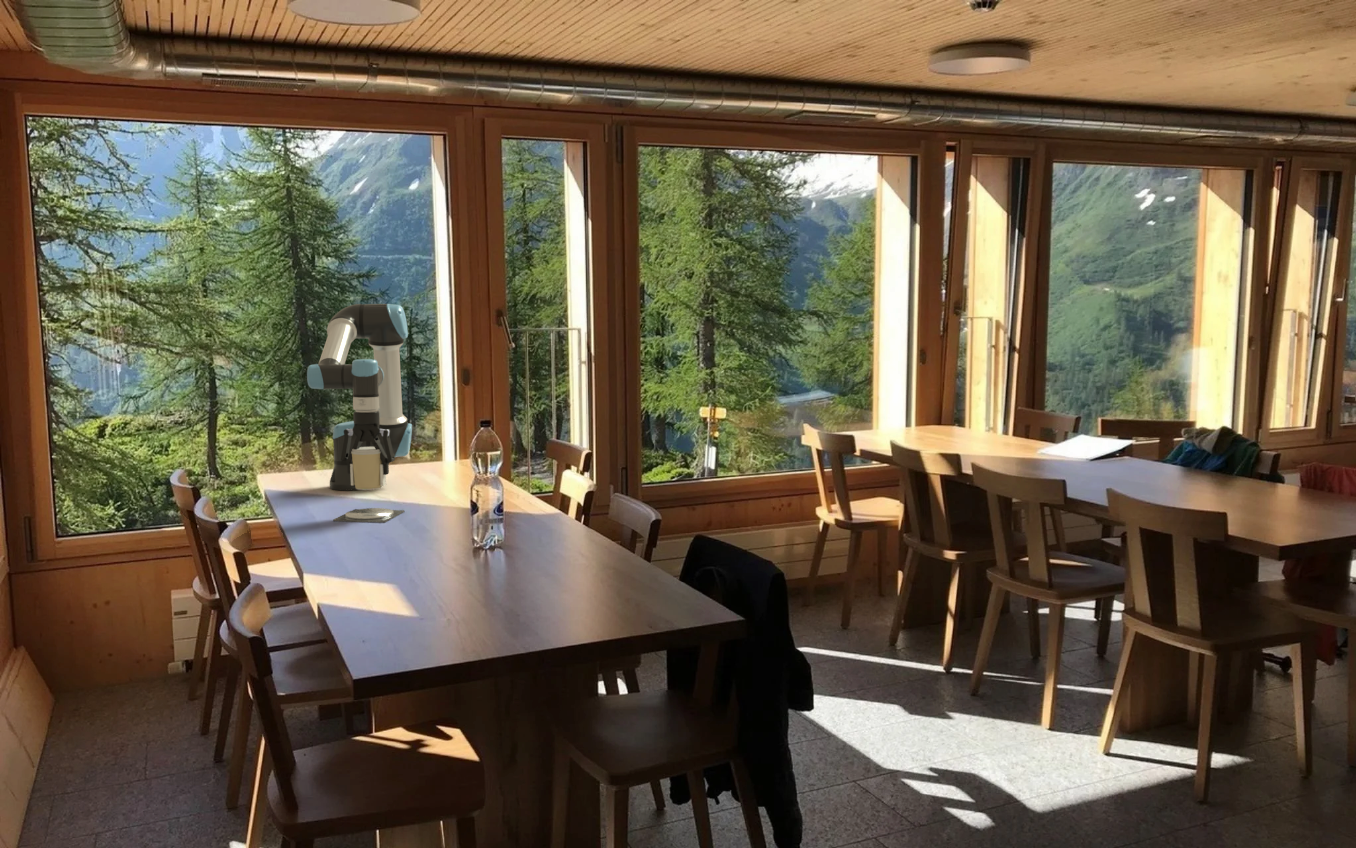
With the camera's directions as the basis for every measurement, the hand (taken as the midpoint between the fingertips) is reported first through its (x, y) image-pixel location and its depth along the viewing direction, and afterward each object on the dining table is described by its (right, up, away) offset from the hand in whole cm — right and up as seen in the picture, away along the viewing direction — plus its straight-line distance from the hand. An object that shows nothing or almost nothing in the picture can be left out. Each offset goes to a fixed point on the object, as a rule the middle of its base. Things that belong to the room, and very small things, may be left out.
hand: (368, 484), depth 317 cm
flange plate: (0, -10, +1) cm, 10 cm away
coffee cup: (0, -1, 0) cm, 1 cm away
